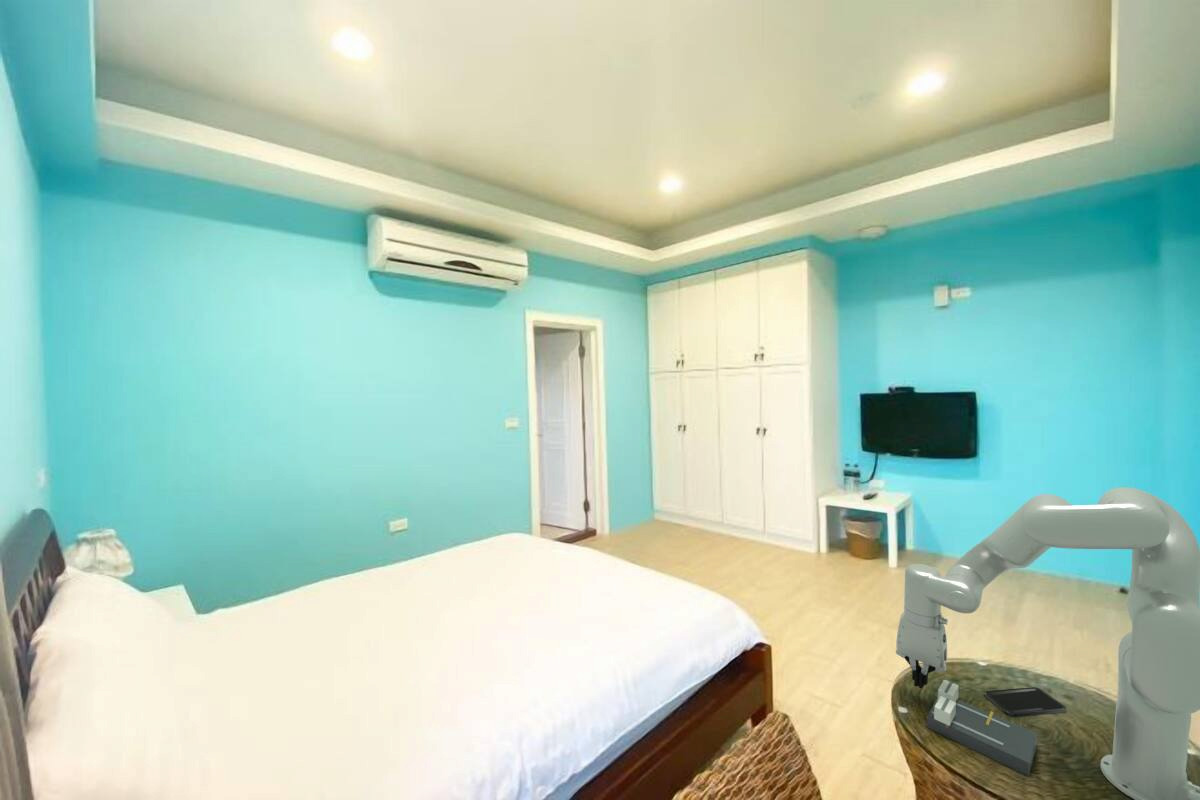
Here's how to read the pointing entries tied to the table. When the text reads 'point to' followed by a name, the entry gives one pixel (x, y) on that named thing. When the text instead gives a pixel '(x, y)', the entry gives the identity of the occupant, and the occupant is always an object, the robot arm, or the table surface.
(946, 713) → the fader near
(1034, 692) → the phone
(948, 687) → the block
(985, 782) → the table surface
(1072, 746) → the table surface
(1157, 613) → the robot arm
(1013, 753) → the console
